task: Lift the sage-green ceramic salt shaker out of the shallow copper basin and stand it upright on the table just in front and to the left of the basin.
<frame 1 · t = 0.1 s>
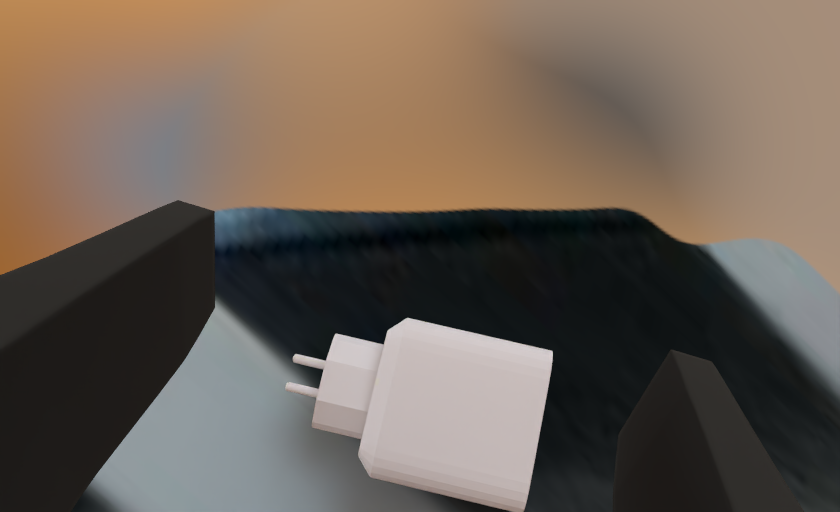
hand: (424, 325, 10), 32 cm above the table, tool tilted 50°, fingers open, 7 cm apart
charger: (411, 399, 41), on the table
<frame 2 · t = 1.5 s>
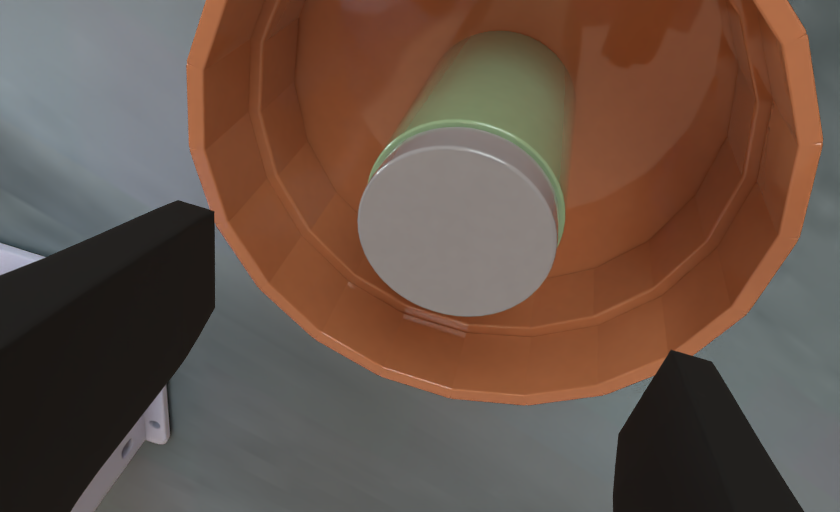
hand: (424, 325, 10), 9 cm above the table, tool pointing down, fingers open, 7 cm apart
basin: (501, 100, 18), on the table
shaker: (499, 106, 17), resting on basin
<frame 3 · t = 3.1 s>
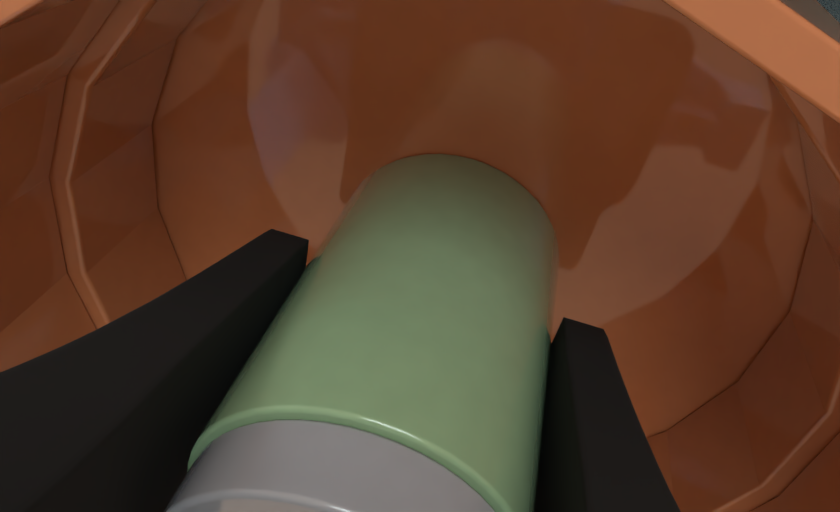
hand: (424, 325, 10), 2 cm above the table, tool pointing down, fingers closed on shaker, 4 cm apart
basin: (452, 241, 12), on the table
shaker: (446, 252, 12), resting on basin, touching gripper
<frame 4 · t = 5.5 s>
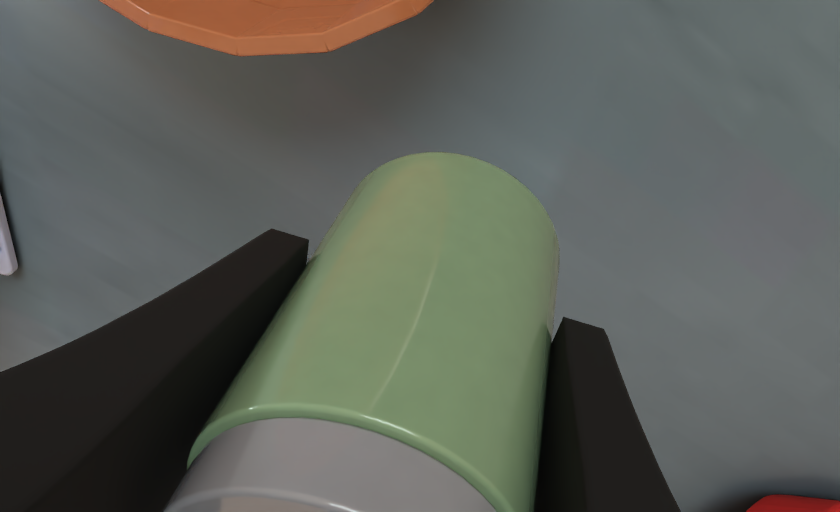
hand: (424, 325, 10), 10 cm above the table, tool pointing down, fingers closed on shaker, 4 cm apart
shaker: (447, 251, 12), point 8 cm above the table, touching gripper
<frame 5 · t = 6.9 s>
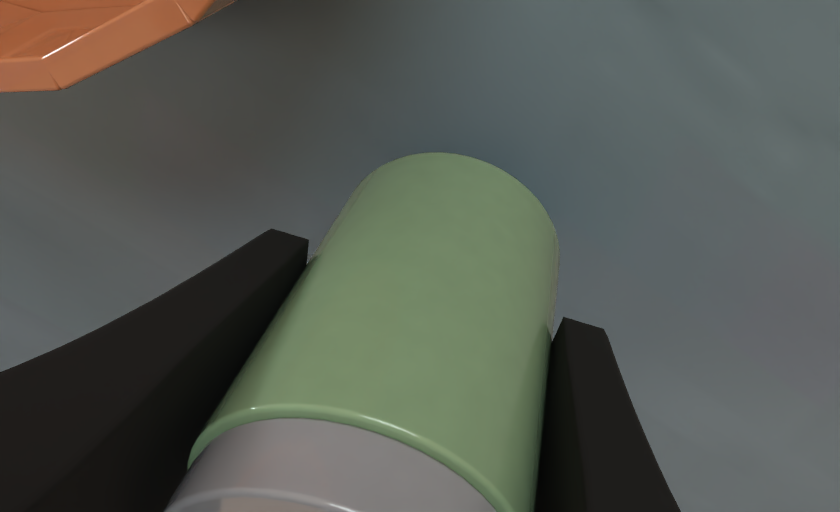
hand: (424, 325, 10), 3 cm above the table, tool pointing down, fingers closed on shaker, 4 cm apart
shaker: (447, 251, 12), point 1 cm above the table, touching gripper
when the fingers open (2 cm above the table, at t = 7.8 s): shaker stays where it is, on the table.
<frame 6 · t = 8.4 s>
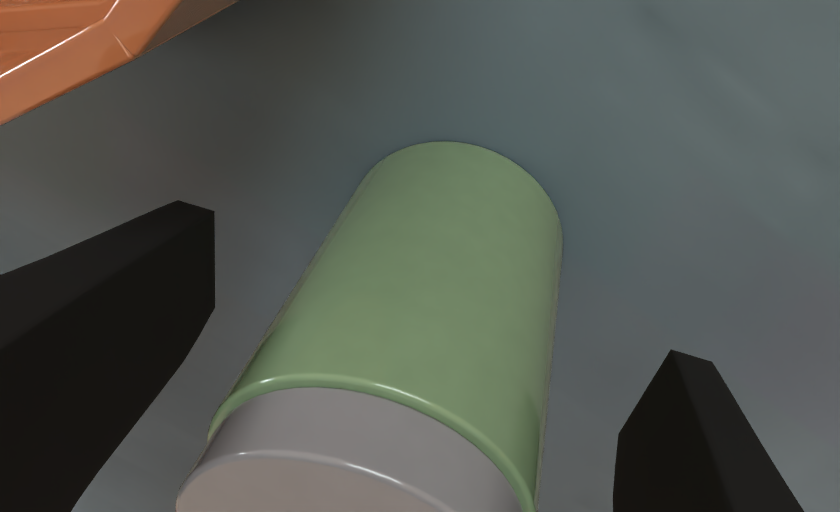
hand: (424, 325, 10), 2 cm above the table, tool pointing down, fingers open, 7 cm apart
shaker: (453, 239, 12), on the table
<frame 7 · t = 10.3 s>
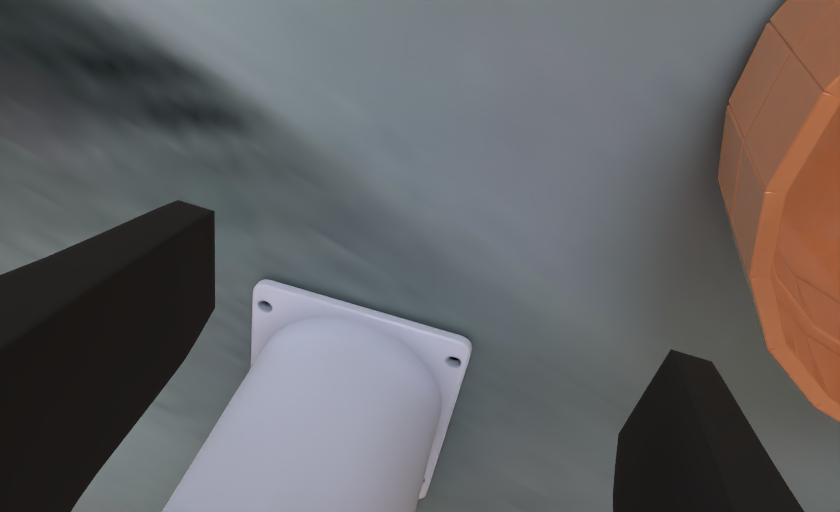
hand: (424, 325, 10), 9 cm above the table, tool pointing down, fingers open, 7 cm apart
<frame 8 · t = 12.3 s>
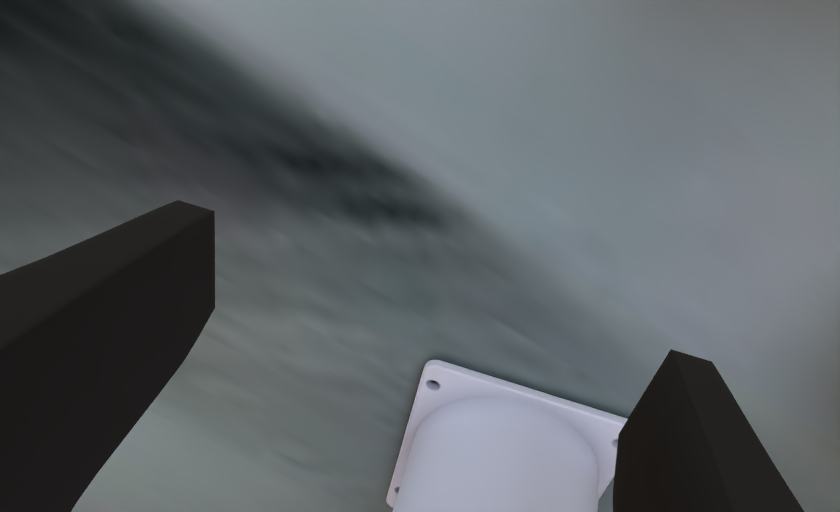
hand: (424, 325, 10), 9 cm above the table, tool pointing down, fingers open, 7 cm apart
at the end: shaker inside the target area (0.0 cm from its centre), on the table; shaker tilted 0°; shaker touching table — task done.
